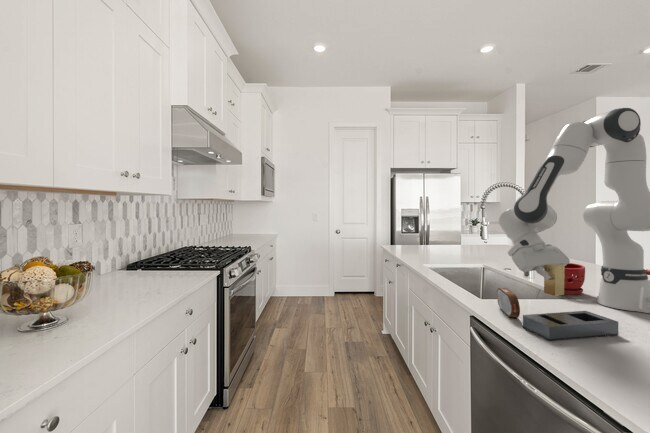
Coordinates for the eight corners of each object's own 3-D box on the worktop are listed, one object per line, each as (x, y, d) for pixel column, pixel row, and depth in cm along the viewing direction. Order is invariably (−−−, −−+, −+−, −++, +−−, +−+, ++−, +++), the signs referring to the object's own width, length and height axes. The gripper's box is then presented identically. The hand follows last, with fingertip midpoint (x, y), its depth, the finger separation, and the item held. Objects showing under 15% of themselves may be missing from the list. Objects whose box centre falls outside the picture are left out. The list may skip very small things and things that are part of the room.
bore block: (585, 323, 101) (585, 310, 101) (618, 335, 91) (618, 321, 91) (522, 327, 99) (522, 315, 99) (549, 340, 89) (549, 326, 89)
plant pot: (543, 287, 146) (543, 261, 145) (578, 289, 141) (578, 262, 140) (552, 295, 133) (552, 266, 133) (590, 297, 129) (590, 268, 128)
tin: (521, 321, 104) (520, 295, 104) (510, 320, 105) (510, 295, 105) (504, 307, 119) (504, 284, 119) (495, 306, 120) (495, 284, 120)
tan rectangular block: (552, 291, 112) (553, 263, 111) (564, 294, 108) (564, 265, 107) (544, 292, 111) (544, 264, 110) (555, 295, 107) (555, 266, 106)
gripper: (546, 249, 122) (572, 280, 113) (503, 253, 117) (527, 286, 108) (557, 238, 118) (585, 270, 109) (513, 243, 112) (539, 276, 103)
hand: (556, 278), depth 108 cm, fingers closed on tan rectangular block, 4 cm apart
